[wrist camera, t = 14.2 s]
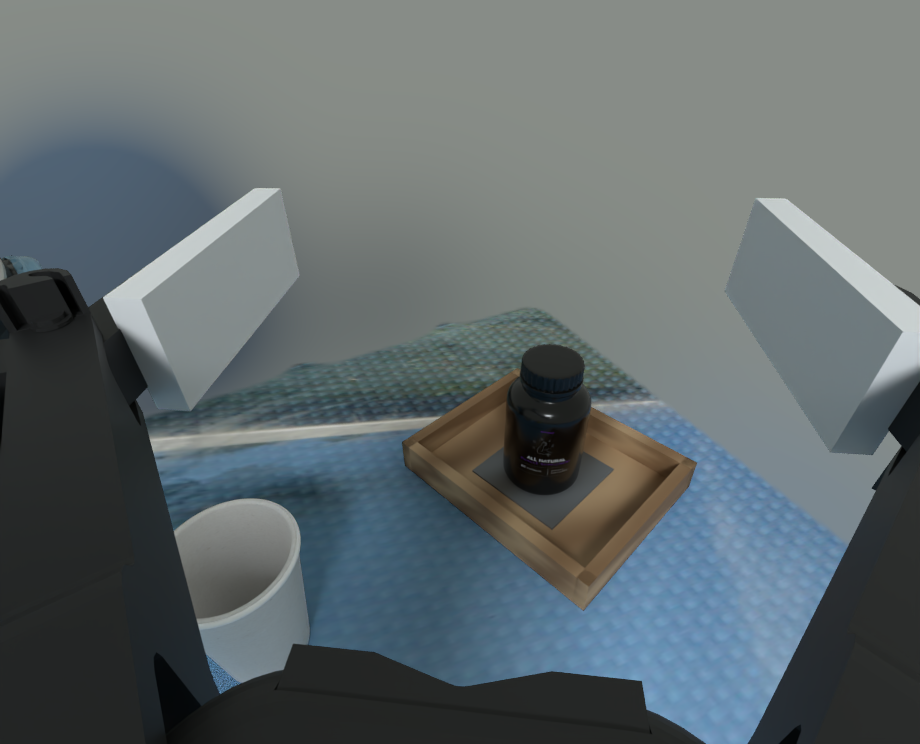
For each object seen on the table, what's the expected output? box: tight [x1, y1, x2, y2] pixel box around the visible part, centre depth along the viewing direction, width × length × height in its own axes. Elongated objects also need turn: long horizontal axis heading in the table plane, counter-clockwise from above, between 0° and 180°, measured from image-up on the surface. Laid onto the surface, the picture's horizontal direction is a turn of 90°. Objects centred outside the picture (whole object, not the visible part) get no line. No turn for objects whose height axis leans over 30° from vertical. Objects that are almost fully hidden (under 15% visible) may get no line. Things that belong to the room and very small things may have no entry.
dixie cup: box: [174, 498, 310, 683], centre depth 32 cm, size 8×8×10 cm
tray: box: [402, 368, 697, 611], centre depth 45 cm, size 20×16×3 cm
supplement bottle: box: [503, 344, 591, 495], centre depth 42 cm, size 7×7×12 cm
